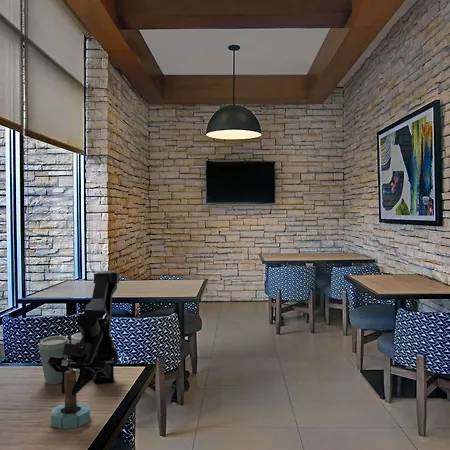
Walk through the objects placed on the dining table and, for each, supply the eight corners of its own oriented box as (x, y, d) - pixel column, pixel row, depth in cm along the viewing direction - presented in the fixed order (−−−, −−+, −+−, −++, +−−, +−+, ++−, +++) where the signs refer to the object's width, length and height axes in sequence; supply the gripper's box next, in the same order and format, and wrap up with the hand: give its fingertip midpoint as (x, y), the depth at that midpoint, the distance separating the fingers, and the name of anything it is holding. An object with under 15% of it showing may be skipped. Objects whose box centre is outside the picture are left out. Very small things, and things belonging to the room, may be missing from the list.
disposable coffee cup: (64, 386, 160) (63, 343, 160) (33, 386, 161) (32, 343, 160) (74, 376, 171) (74, 335, 171) (45, 375, 171) (44, 335, 171)
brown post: (76, 412, 137) (76, 369, 137) (76, 416, 134) (75, 373, 133) (65, 413, 136) (64, 370, 136) (64, 418, 133) (63, 374, 133)
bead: (89, 410, 141) (89, 400, 141) (89, 425, 131) (89, 415, 131) (53, 414, 139) (53, 404, 139) (49, 430, 129) (49, 419, 129)
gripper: (50, 328, 141) (25, 378, 130) (106, 333, 135) (84, 385, 125) (66, 347, 148) (44, 395, 138) (119, 352, 143) (100, 402, 133)
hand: (67, 394), depth 133 cm, fingers closed on brown post, 3 cm apart
